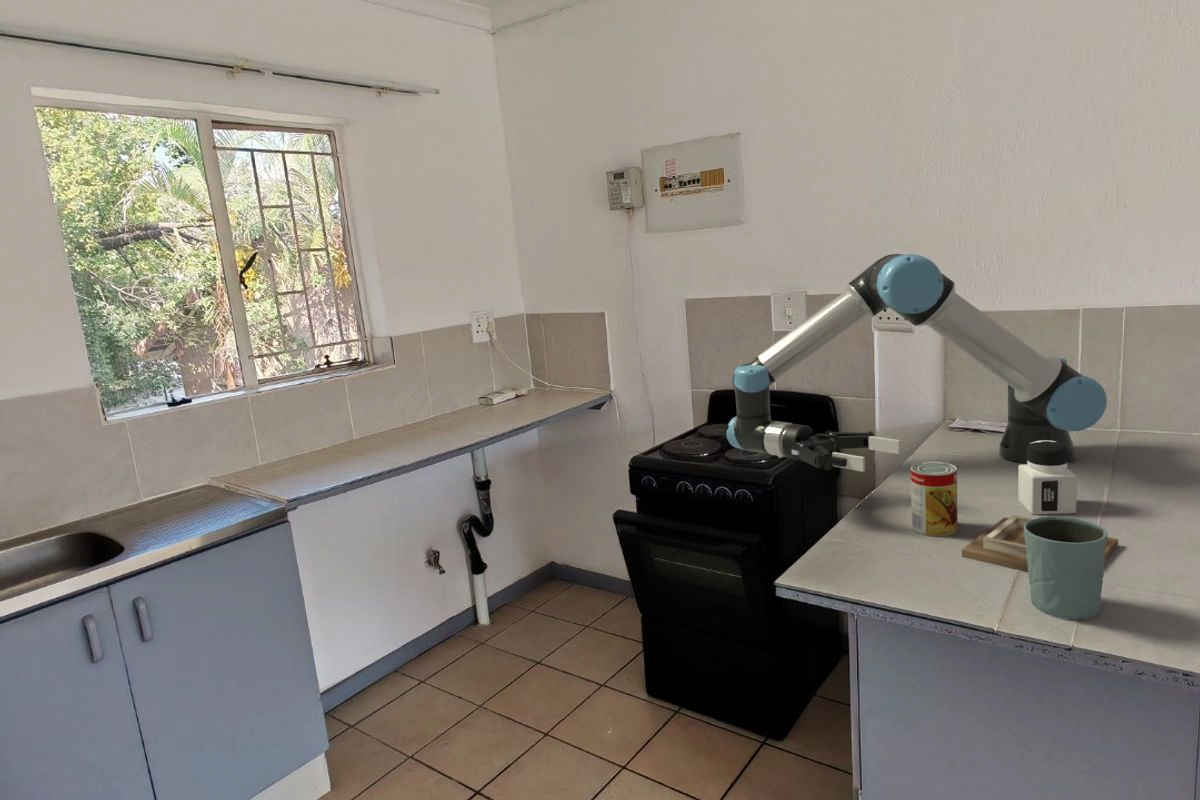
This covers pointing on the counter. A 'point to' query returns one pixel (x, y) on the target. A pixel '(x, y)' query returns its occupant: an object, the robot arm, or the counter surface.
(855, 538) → the counter surface
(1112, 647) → the counter surface
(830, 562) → the counter surface
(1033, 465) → the container
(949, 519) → the canned food
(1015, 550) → the collar board
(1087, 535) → the green plant pot
